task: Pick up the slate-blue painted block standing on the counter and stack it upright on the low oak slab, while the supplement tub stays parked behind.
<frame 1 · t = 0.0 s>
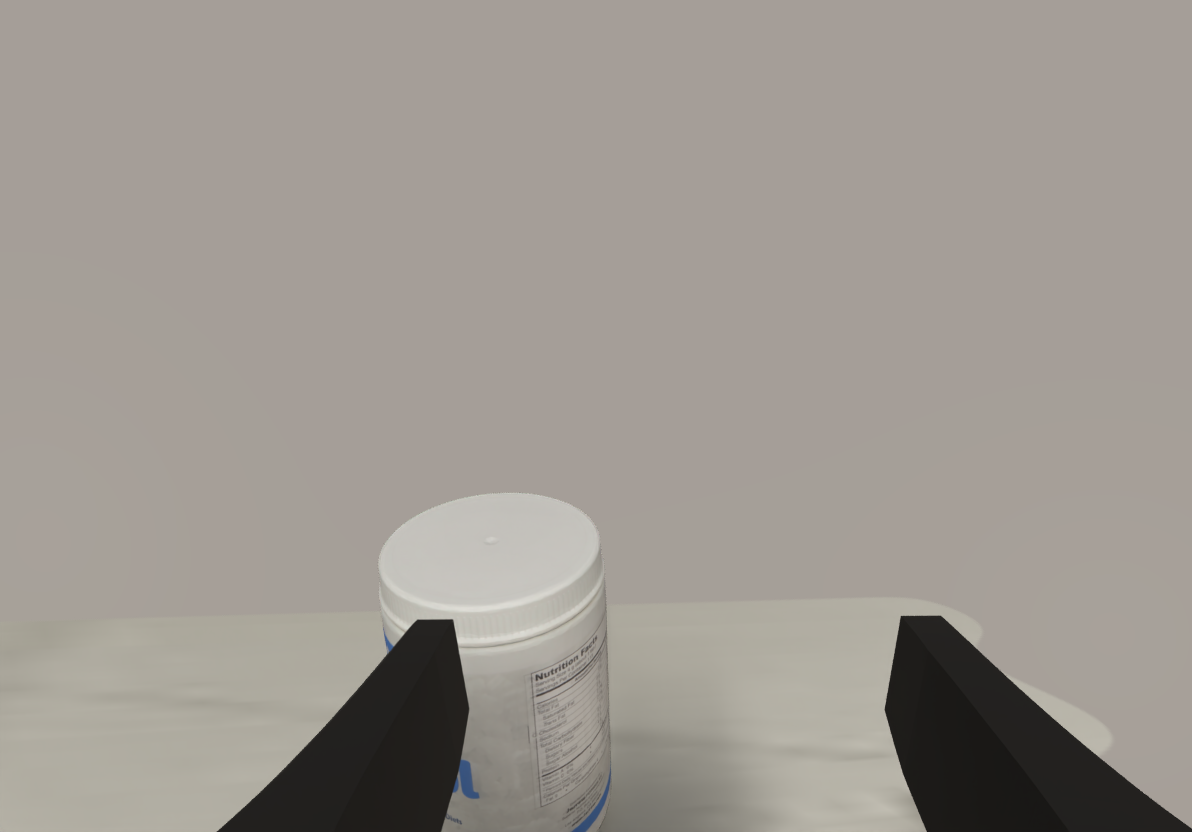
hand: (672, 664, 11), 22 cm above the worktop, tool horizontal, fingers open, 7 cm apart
supplement tub: (518, 802, 34), on the worktop
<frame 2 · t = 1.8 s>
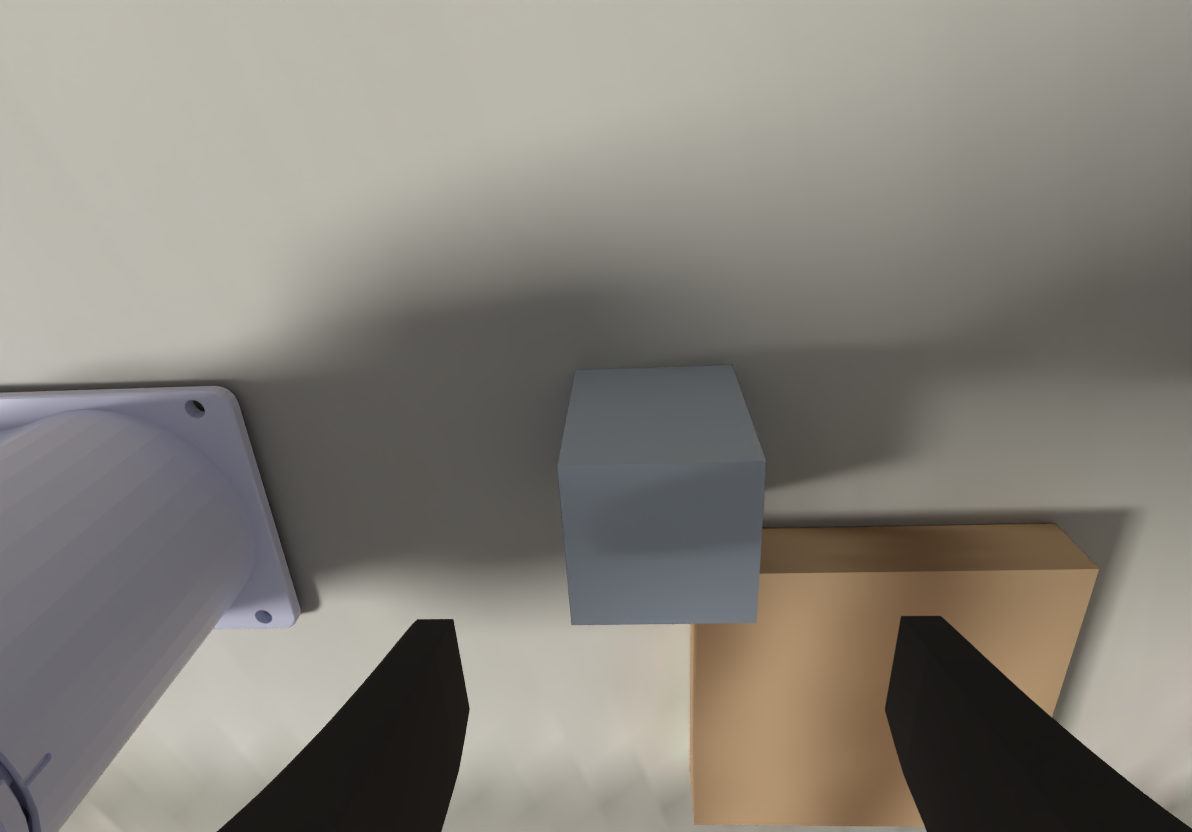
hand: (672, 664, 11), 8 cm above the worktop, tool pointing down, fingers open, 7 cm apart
block: (654, 436, 19), on the worktop
slab: (851, 660, 22), on the worktop
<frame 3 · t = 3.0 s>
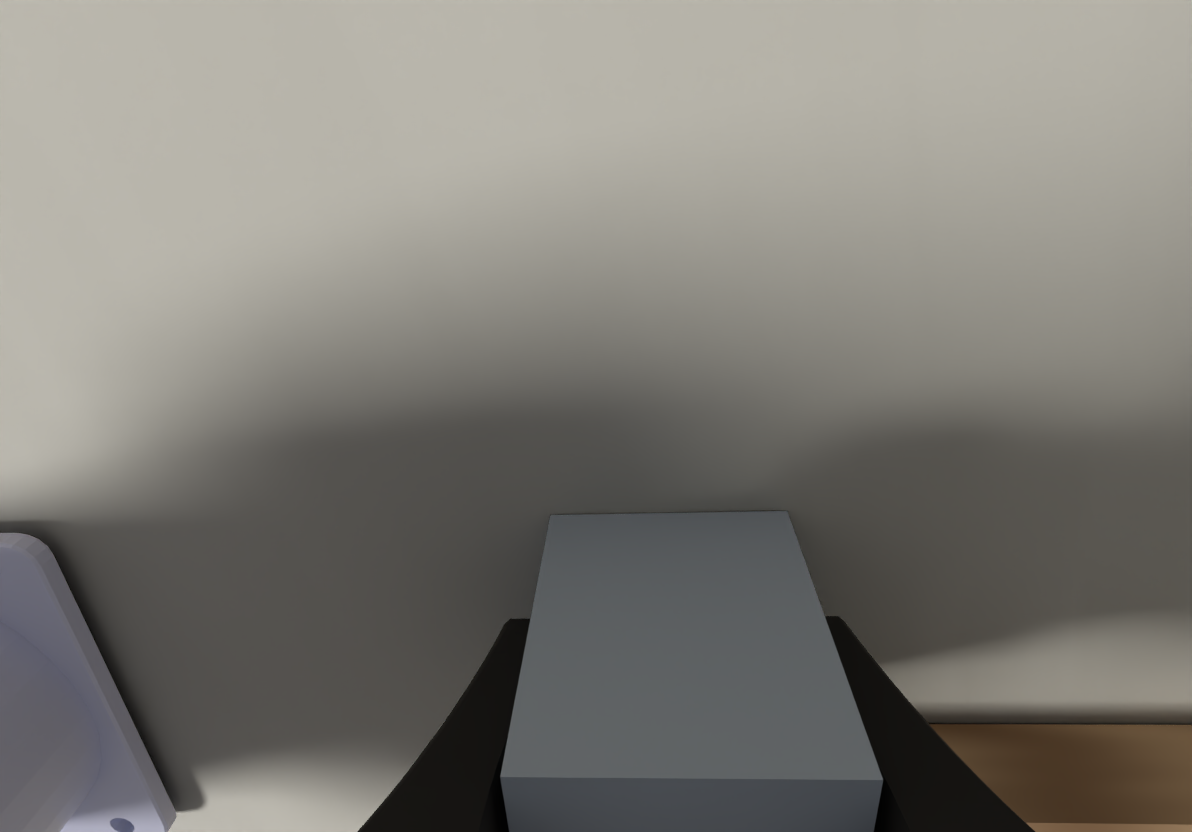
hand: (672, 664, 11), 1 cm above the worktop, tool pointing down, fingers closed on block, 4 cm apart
block: (668, 605, 13), on the worktop, touching gripper
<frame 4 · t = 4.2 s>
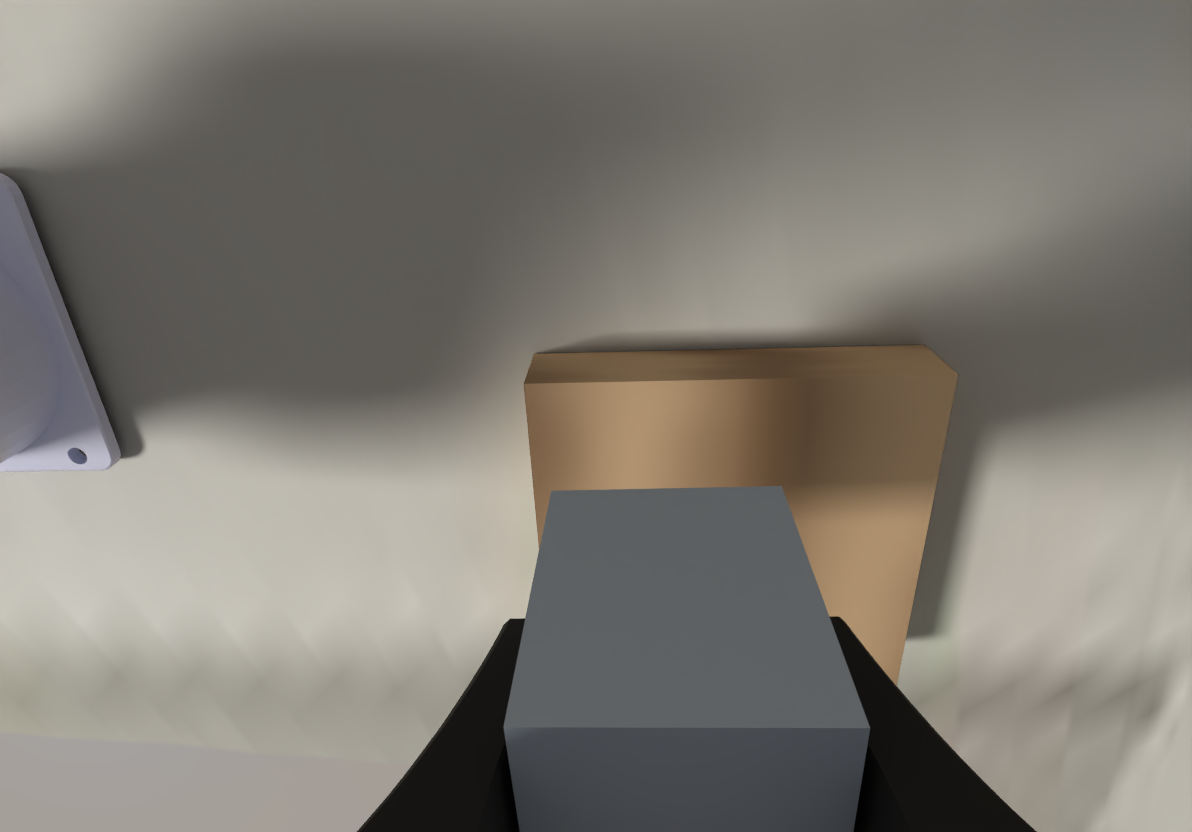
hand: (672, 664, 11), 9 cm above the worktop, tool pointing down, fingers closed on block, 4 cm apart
block: (666, 580, 13), point 7 cm above the worktop, touching gripper
slab: (719, 512, 20), on the worktop
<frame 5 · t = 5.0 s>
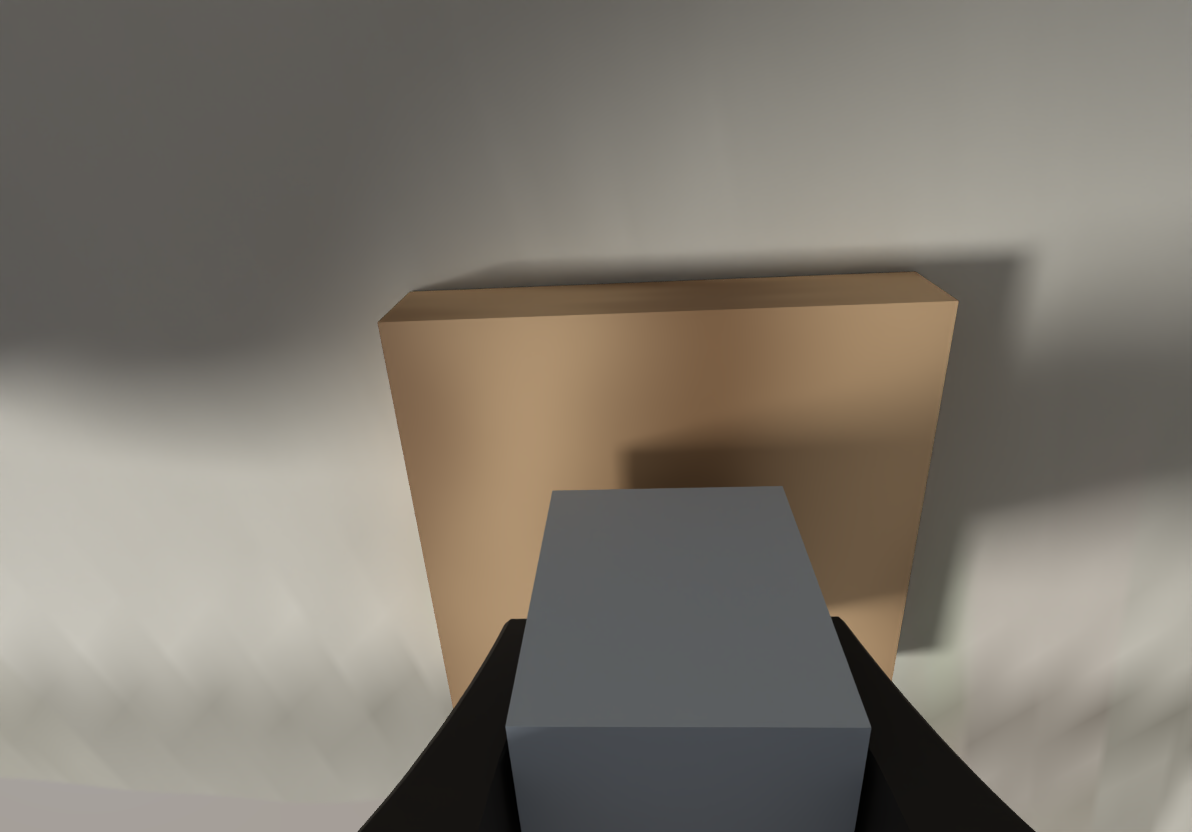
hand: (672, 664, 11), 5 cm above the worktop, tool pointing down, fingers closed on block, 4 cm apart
block: (667, 580, 13), point 3 cm above the worktop, touching gripper
slab: (659, 496, 16), on the worktop
when the fingers open (4 cm above the worktop, at t = 5.5 s): block stays where it is, resting on slab.
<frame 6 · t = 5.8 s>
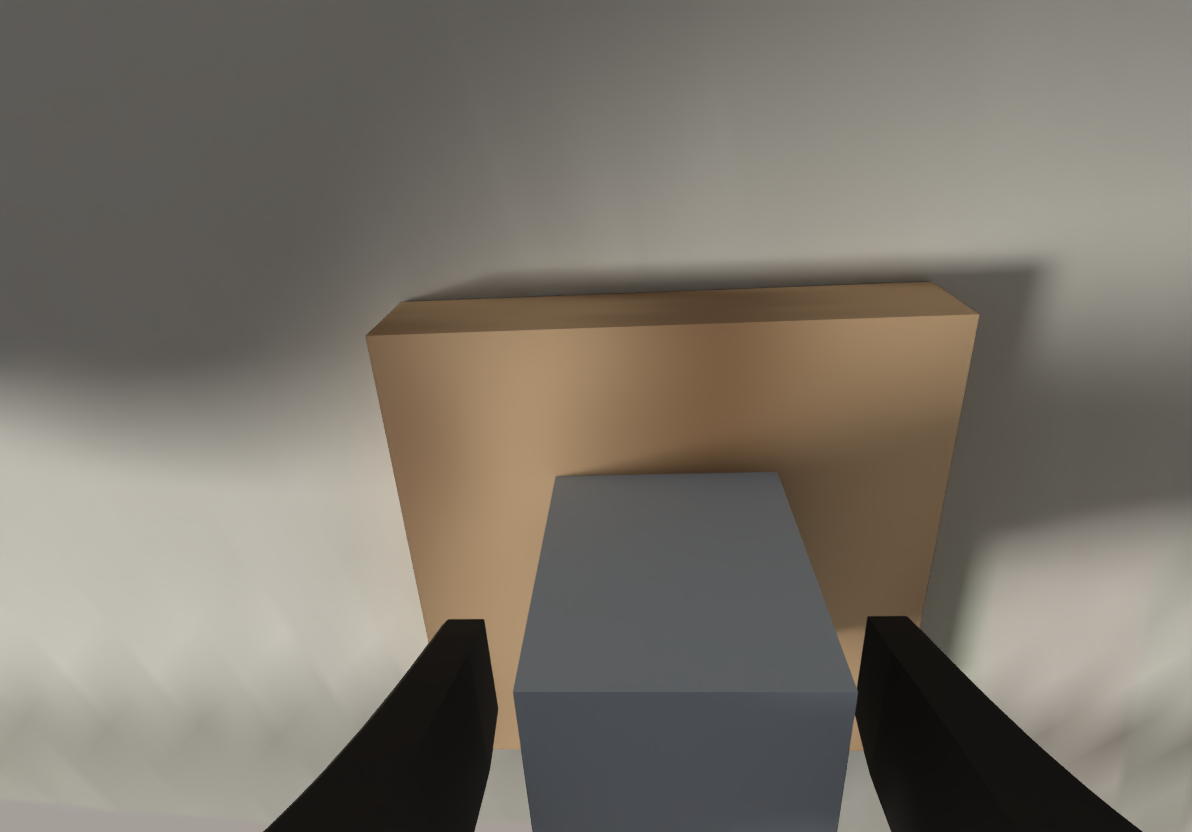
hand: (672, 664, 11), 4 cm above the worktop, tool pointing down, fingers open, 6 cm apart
block: (666, 563, 13), point 2 cm above the worktop, touching slab
slab: (662, 513, 15), on the worktop
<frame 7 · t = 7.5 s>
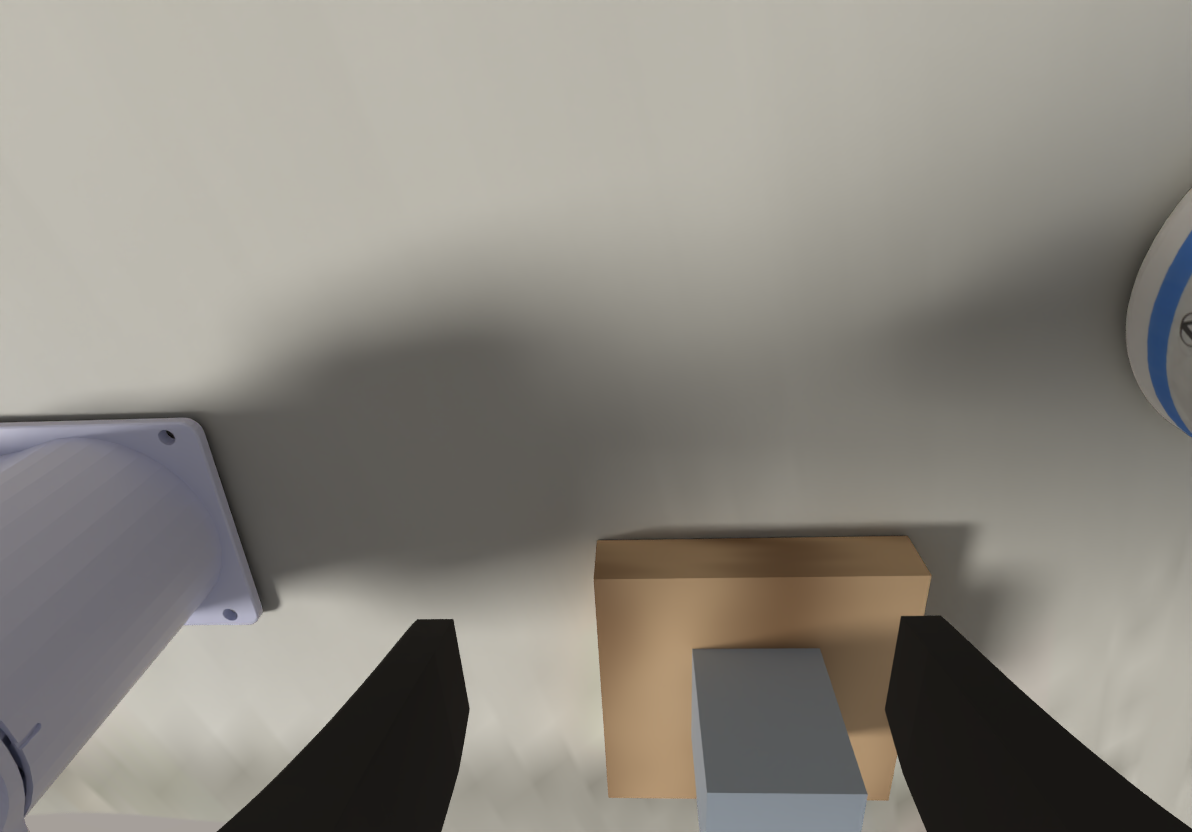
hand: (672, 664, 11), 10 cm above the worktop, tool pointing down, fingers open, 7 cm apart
block: (752, 694, 23), point 2 cm above the worktop, touching slab
slab: (744, 653, 25), on the worktop
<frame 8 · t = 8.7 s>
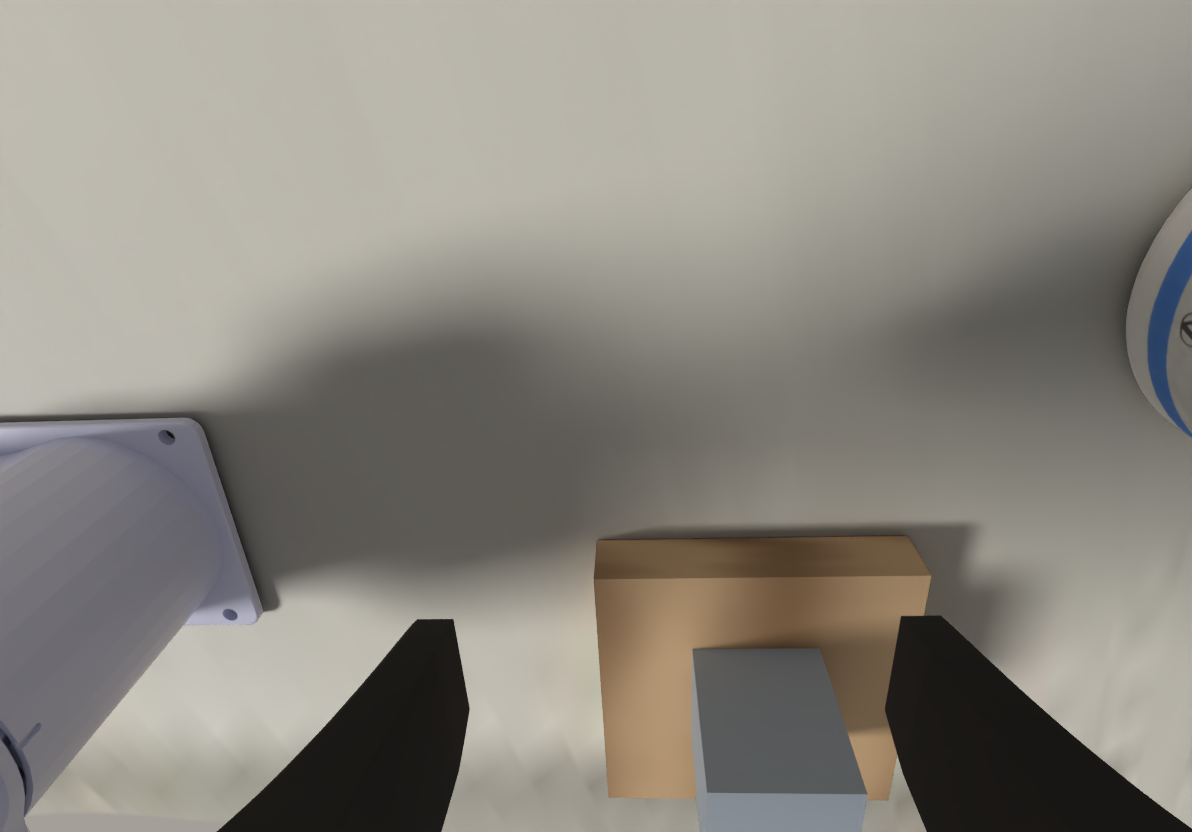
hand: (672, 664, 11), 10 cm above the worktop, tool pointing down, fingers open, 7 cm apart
block: (752, 694, 23), point 2 cm above the worktop, touching slab
slab: (744, 653, 25), on the worktop
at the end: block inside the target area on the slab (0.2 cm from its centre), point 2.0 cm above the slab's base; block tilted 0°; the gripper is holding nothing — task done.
